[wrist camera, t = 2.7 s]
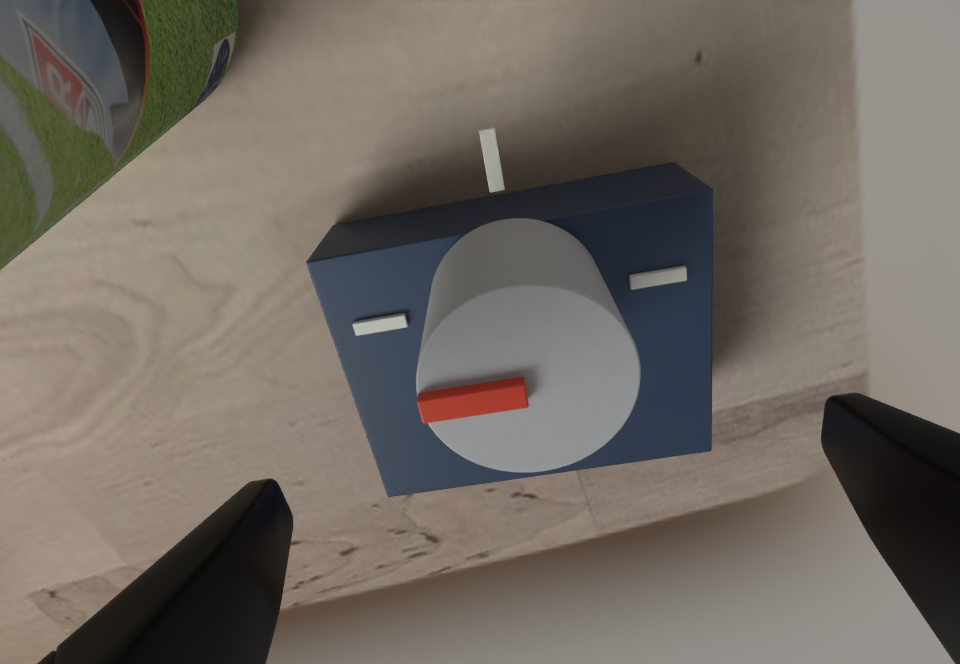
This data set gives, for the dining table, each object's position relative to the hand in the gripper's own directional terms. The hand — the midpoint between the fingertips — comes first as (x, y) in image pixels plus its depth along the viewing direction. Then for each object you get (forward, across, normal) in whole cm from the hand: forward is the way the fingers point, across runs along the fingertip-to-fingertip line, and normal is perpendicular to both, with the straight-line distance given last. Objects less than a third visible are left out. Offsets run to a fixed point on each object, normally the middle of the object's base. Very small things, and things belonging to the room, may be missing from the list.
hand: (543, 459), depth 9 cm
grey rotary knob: (+6, 0, 0) cm, 6 cm away
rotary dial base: (+9, 0, +1) cm, 9 cm away
